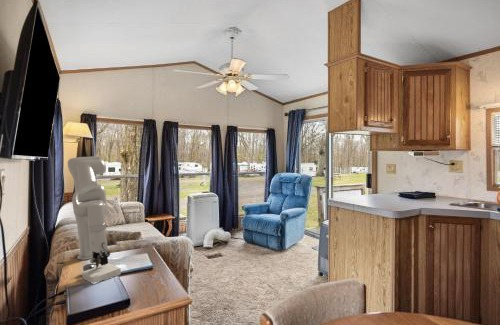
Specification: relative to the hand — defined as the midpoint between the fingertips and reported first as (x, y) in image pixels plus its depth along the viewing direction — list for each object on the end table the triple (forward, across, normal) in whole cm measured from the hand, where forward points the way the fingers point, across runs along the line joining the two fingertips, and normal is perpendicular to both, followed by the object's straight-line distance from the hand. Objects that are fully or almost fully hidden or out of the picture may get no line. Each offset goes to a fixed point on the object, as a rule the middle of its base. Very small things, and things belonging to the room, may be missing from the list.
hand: (100, 262), depth 147 cm
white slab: (+7, 0, 0) cm, 7 cm away
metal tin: (+7, -10, -2) cm, 12 cm away
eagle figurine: (+2, -1, +1) cm, 3 cm away
